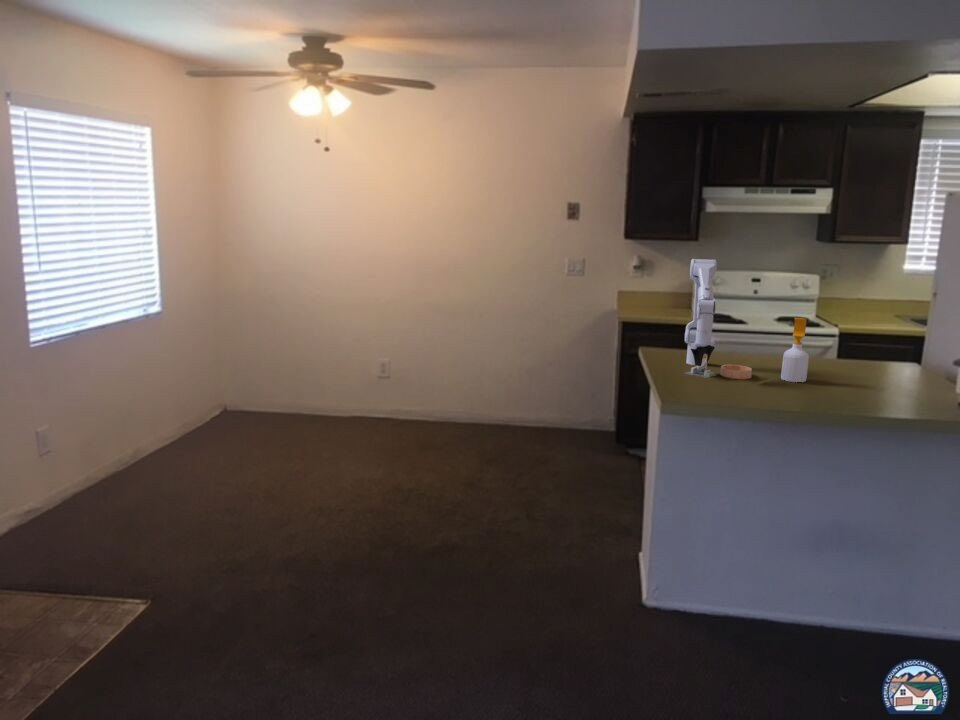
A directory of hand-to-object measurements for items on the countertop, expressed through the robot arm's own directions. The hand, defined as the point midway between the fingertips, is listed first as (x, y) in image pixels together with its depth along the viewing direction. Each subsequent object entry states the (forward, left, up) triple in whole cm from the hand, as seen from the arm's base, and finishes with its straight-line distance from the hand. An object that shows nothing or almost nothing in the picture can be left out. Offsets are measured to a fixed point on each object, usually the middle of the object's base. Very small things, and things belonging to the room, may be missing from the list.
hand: (701, 364), depth 282 cm
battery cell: (0, 0, -2) cm, 2 cm away
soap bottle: (-24, +26, -5) cm, 36 cm away
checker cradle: (0, 0, -5) cm, 5 cm away
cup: (-9, +10, -5) cm, 14 cm away
